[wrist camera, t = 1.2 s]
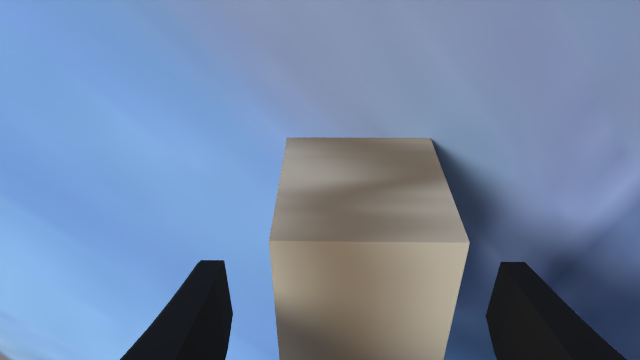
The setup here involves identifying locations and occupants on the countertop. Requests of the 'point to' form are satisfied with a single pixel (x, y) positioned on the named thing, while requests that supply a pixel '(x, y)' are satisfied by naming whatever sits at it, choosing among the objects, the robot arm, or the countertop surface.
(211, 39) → the countertop surface
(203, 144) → the countertop surface
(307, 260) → the birch block
